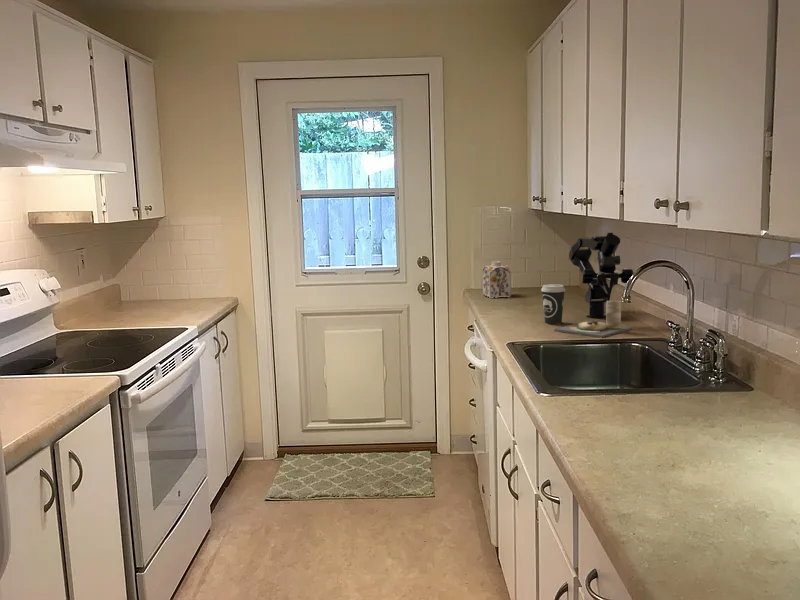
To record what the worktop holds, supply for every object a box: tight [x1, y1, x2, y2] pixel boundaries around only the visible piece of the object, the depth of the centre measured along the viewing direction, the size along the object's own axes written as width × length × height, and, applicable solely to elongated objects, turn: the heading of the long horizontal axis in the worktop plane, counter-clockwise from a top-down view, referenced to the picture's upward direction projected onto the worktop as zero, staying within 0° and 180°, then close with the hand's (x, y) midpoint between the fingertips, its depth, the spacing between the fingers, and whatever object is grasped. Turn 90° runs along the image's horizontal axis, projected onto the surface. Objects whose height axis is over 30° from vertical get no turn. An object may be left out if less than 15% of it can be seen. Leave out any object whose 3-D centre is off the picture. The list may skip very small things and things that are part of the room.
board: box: [554, 322, 632, 338], centre depth 257 cm, size 20×20×1 cm
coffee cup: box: [540, 283, 567, 325], centre depth 274 cm, size 10×10×15 cm
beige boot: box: [578, 300, 622, 330], centre depth 253 cm, size 15×13×10 cm
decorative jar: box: [482, 260, 512, 297], centre depth 351 cm, size 12×12×18 cm
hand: (609, 293), depth 262 cm, fingers closed
